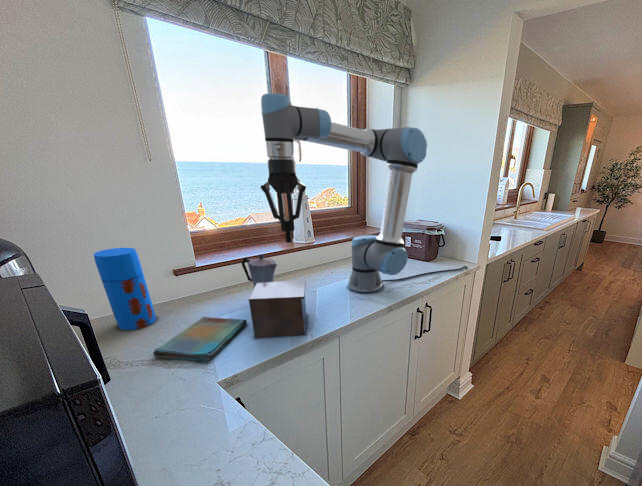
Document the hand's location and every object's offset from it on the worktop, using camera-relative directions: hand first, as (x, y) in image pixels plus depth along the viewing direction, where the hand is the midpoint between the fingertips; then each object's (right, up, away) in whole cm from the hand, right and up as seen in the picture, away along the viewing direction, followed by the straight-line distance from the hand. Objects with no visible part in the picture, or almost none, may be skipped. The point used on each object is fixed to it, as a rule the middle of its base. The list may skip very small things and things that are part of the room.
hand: (289, 241), depth 100 cm
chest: (-6, -27, +11) cm, 30 cm away
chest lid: (-5, -15, +6) cm, 17 cm away
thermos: (-55, -26, +11) cm, 62 cm away
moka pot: (-18, -20, +28) cm, 38 cm away
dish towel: (-27, -31, +2) cm, 41 cm away
